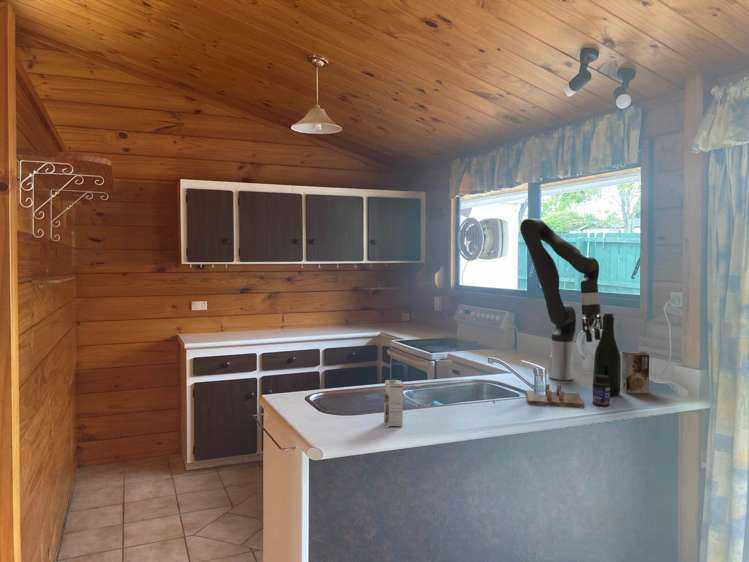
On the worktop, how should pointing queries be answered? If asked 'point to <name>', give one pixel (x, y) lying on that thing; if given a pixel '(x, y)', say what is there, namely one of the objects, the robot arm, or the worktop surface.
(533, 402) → the pin tray
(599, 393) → the pill bottle
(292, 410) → the worktop surface
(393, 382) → the syrup box
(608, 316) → the dark green wine bottle
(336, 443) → the worktop surface
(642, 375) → the coffee box
